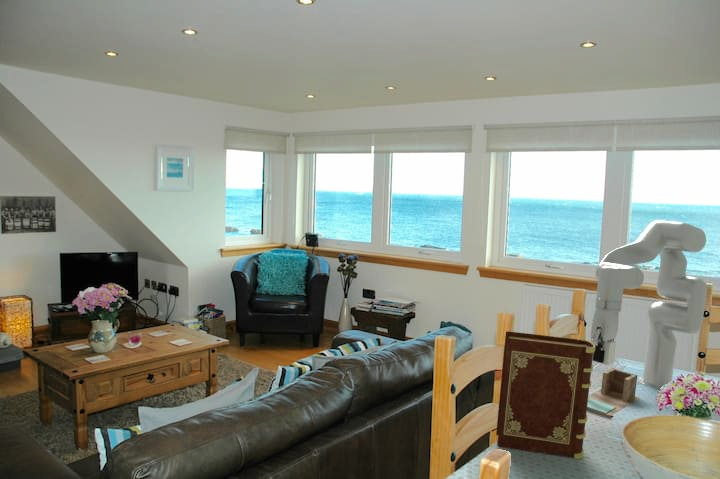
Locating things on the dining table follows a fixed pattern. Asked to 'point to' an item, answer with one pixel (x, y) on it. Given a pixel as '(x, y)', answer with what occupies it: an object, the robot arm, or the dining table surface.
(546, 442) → the decorative book
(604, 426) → the dining table surface
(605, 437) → the dining table surface
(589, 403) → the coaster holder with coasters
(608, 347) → the carton
